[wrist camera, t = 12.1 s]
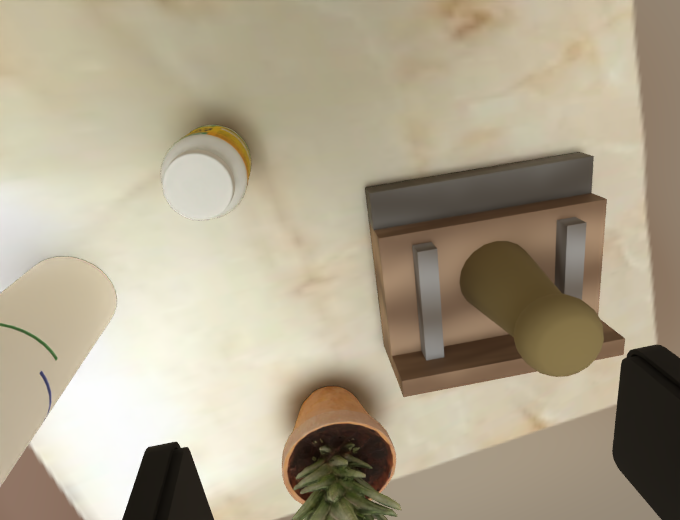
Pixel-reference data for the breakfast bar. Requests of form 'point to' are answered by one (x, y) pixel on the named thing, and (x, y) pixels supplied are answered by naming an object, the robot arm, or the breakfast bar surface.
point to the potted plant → (338, 460)
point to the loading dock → (457, 246)
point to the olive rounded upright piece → (532, 309)
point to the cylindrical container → (45, 343)
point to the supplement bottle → (206, 173)
